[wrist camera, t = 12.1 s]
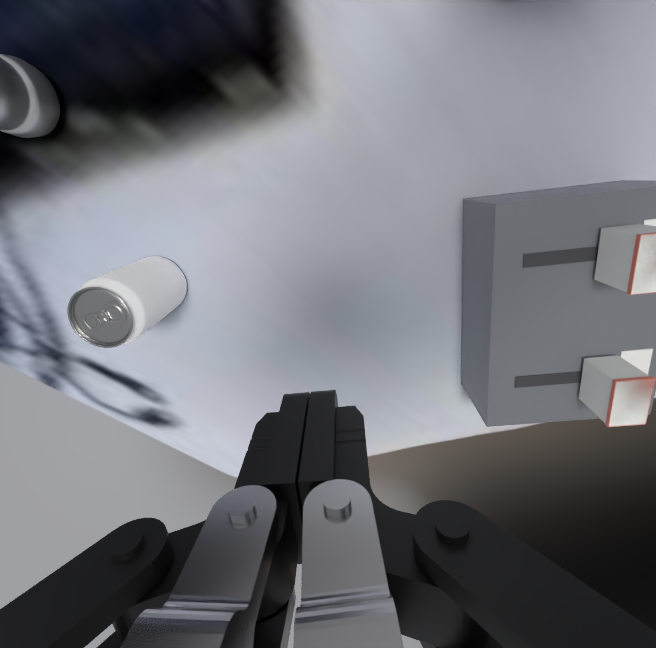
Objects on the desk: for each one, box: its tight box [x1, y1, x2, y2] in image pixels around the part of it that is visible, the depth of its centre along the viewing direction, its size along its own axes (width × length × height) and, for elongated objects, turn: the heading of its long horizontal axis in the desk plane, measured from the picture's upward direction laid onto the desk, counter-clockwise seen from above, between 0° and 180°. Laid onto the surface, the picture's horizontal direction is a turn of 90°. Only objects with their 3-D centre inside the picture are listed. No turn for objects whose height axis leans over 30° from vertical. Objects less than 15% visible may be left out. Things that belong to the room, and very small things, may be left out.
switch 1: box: [594, 224, 656, 295], centre depth 30 cm, size 3×4×4 cm
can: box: [68, 256, 187, 348], centre depth 39 cm, size 6×6×12 cm
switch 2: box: [579, 355, 655, 427], centre depth 34 cm, size 3×4×4 cm
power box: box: [461, 180, 656, 427], centre depth 39 cm, size 16×22×9 cm
